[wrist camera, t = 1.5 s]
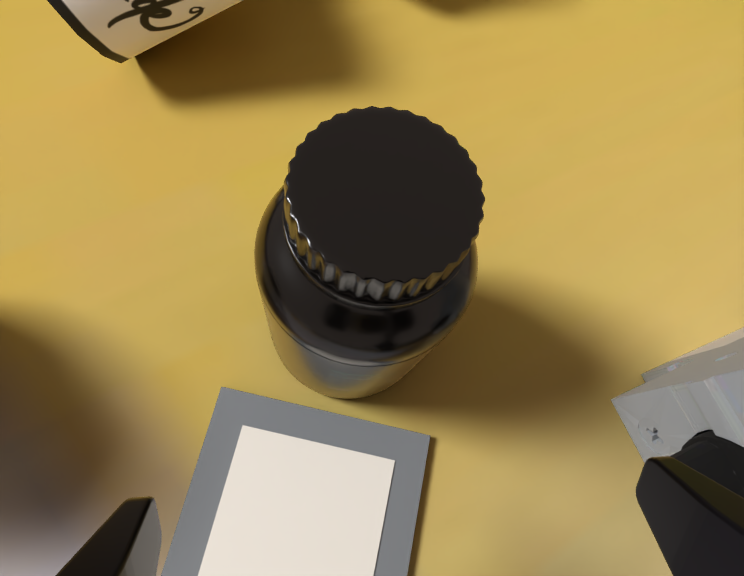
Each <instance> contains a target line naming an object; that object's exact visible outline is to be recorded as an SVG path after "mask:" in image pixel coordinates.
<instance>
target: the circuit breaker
mask: <svg viewBox="0 0 744 576" xmlns="http://www.w3.org/2000/svg"><path fill="white" fill-rule="evenodd" d="M641 375H642V377H643V379H644V381H645V382H646V383H644V384H642V385H640V386H638V387H636V388H634V389H631V390H629V391H627V392H625V393H623V394H621V395H619V396H616V397H614V398H612V399H611V401H612V403H613V405H614V407H615V409H616V410H617V412H618V414H619V416H620V418H621V420H622V422H623V424H624V425H625V427H626V429H627V431H628V433H629V435H630V437H631V438H632V440H633V442H634V444H635V446H636V448H637V450H638V451H639V453H640V455H641V457H642V459H643V461H644V463H645V462H646V460H647V459H649V458H651V457H661V456H669V457H673V458H675V459H676V460H678V461H680V462H682V463H683V464H685V465H687V466H689V467H690V468H692V469H694V470H696V471H697V472H699V473H701V474H703V475H704V476H706V477H708V478H709V479H711V480H713V481H715V482H716V483H718V484H720V485H722V486H723V487H725V488H727V489H729V490H730V491H732V492H734V493H736V494H737V495H739V496H741V497H743V498H744V327H743V328H741V329H739V330H736V331H734V332H732V333H730V334H728V335H726V336H723V337H721V338H719V339H717V340H715V341H713V342H710V343H708V344H706V345H704V346H702V347H699V348H697V349H695V350H693V351H691V352H689V353H686V354H684V355H682V356H680V357H678V358H676V359H673V360H671V361H669V362H667V363H665V364H663V365H660V366H658V367H656V368H654V369H652V370H650V371H647V372H645V373H643V374H641Z"/></svg>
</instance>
